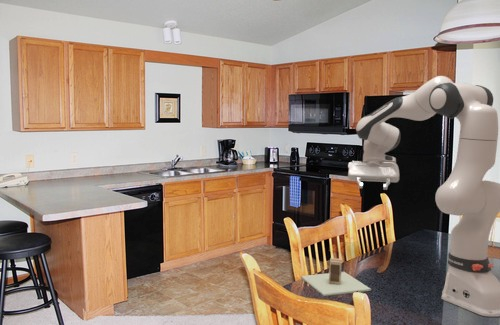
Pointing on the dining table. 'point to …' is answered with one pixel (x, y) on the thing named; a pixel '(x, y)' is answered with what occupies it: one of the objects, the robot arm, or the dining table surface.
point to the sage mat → (326, 289)
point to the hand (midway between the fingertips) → (373, 188)
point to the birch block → (335, 271)
